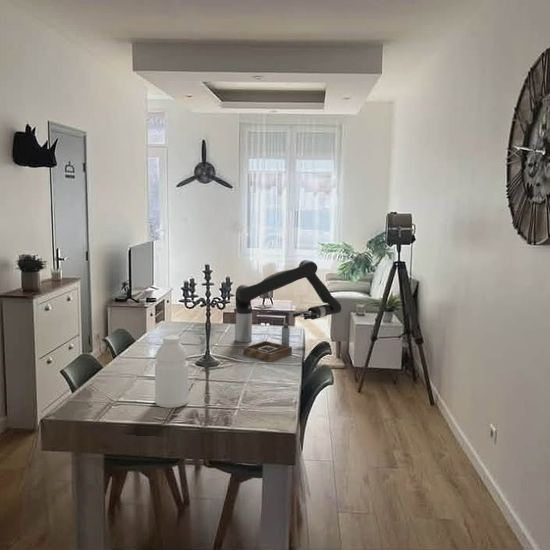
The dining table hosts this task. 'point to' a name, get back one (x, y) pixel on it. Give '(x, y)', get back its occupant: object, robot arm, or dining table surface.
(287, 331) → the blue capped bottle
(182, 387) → the bottle
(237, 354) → the dining table surface
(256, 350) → the wooden box
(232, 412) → the dining table surface
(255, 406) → the dining table surface
